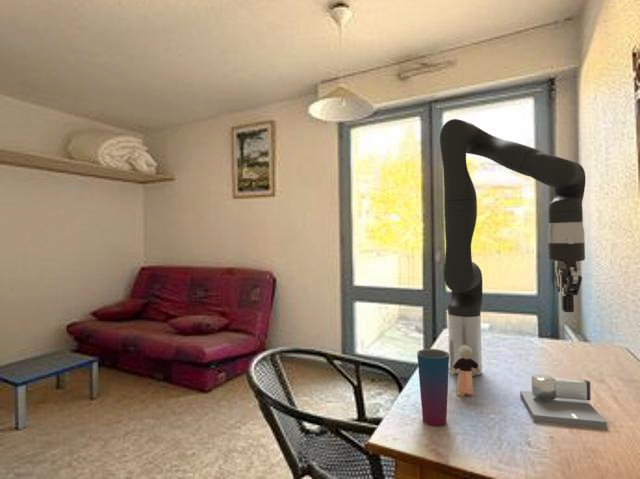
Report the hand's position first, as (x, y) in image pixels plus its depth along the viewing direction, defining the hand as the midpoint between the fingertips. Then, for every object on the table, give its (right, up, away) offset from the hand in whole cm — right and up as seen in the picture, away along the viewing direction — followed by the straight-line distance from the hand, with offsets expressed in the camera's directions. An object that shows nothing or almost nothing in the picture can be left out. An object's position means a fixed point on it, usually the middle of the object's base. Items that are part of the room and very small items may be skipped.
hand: (567, 311), depth 94 cm
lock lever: (-4, -19, -4) cm, 20 cm away
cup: (-36, -23, -10) cm, 43 cm away
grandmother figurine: (-23, -22, +4) cm, 33 cm away
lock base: (-6, -22, -6) cm, 23 cm away
